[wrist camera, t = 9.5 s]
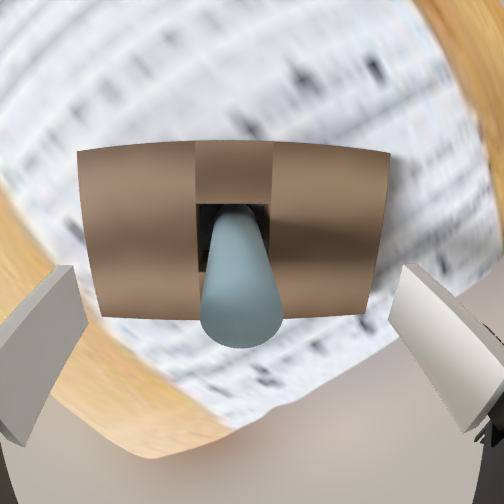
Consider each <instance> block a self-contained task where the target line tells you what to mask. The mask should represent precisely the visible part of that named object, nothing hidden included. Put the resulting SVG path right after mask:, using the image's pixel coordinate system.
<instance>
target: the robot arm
mask: <svg viewBox="0 0 504 504" xmlns="http://www.w3.org/2000/svg"><path fill="white" fill-rule="evenodd" d="M388 321H389V322H390V324H391V325H392V326H393V328H394V329H395V331H396V332H397V333H398V335H399V336H400V338H401V339H402V341H403V342H404V343H405V345H406V346H407V348H408V349H409V351H410V352H411V353H412V355H413V356H414V358H415V359H416V361H417V362H418V364H419V365H420V367H421V368H422V370H423V371H424V373H425V374H426V376H427V377H428V379H429V380H430V382H431V383H432V385H433V387H434V388H435V390H436V391H437V393H438V394H439V396H440V398H441V399H442V401H443V402H444V404H445V405H446V407H447V409H448V410H449V412H450V413H451V415H452V417H453V419H454V420H455V422H456V424H457V425H458V427H459V429H460V431H461V432H462V434H463V433H466V432H468V431H470V430H471V429H474V428H476V427H477V426H478V425H479V424H480V423H481V422H482V420H483V419H484V418H485V417H486V415H488V416H489V418H490V421H489V422H488V423H487V424H486V426H485V427H484V428H483V429H482V430H481V431H480V432H479V434H478V435H477V436H476V437H475V440H474V442H477V441H478V440H479V439H480V438H481V437H482V435H483V434H485V437H484V438H483V439H482V440H481V441H480V443H482V444H484V447H483V454H482V460H481V467H480V472H479V477H478V482H477V487H476V491H475V495H474V499H473V503H472V504H504V344H503V343H501V340H500V339H499V338H497V336H496V337H495V334H494V333H493V332H492V331H491V330H490V329H489V328H488V327H487V326H486V325H484V324H483V323H481V322H480V321H479V320H478V319H477V318H476V317H475V316H474V315H473V314H472V313H471V312H470V311H469V310H468V309H467V308H466V307H465V306H464V305H462V303H461V302H459V301H458V300H457V299H456V298H455V297H454V296H453V295H452V294H451V293H450V292H449V291H448V290H447V289H445V288H444V287H443V286H442V285H441V284H440V283H439V282H438V281H437V280H435V279H434V278H433V277H432V276H431V275H430V274H429V273H427V272H426V271H425V270H424V269H423V268H422V267H420V266H419V265H418V264H403V267H402V271H401V275H400V279H399V283H398V286H397V290H396V294H395V297H394V301H393V304H392V308H391V311H390V314H389V318H388ZM87 325H88V320H87V317H86V313H85V310H84V307H83V303H82V299H81V296H80V292H79V288H78V284H77V280H76V276H75V272H74V268H73V266H68V265H58V266H57V267H56V268H55V269H54V270H53V271H52V272H51V273H50V274H49V275H48V276H47V277H46V278H45V279H44V280H43V281H42V282H41V283H40V284H39V285H38V286H37V287H36V288H35V289H34V290H33V291H32V292H31V293H30V294H29V295H28V296H27V297H26V298H25V299H24V300H23V301H22V302H21V303H20V304H19V305H18V307H17V308H16V309H15V310H14V311H13V312H12V313H11V314H10V315H9V317H8V318H7V319H6V320H5V321H4V322H3V323H2V325H1V326H0V432H1V433H2V434H3V435H4V436H5V437H6V439H7V440H9V441H11V442H13V443H15V444H18V445H20V446H22V447H25V445H26V443H27V441H28V438H29V436H30V434H31V431H32V429H33V427H34V425H35V423H36V420H37V418H38V416H39V414H40V412H41V410H42V408H43V406H44V403H45V401H46V399H47V397H48V395H49V393H50V391H51V389H52V388H53V386H54V384H55V382H56V380H57V378H58V376H59V374H60V372H61V370H62V369H63V367H64V365H65V363H66V361H67V359H68V358H69V356H70V354H71V352H72V351H73V349H74V347H75V345H76V344H77V342H78V340H79V338H80V337H81V335H82V333H83V332H84V330H85V328H86V327H87ZM0 504H18V501H17V499H16V496H15V493H14V491H13V487H12V484H11V481H10V478H9V474H8V471H7V468H6V464H5V460H4V456H3V452H2V448H1V443H0Z"/></svg>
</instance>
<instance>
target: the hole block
mask: <svg viewBox="0 0 504 504" xmlns="http://www.w3.org/2000/svg"><path fill="white" fill-rule="evenodd" d="M77 164H78V179H79V191H80V201H81V210H82V218H83V226H84V233H85V239H86V246H87V251H88V257H89V262H90V268H91V273H92V277H93V282H94V287H95V291H96V295H97V300H98V304H99V308H100V312H101V315H102V317H117V318H137V319H163V320H200V306H201V300H202V293H203V287H204V281H205V274H206V268H207V262H208V256H209V252H203V247H202V214H201V204H264V220H263V243H264V247H265V250H266V253H267V256H268V259H269V263H270V266H271V269H272V273H273V276H274V279H275V282H276V286H277V289H278V292H279V296H280V299H281V302H282V306H283V312H284V313H283V319H292V318H312V317H328V316H342V315H355V314H365V311H366V306H367V302H368V298H369V294H370V289H371V284H372V280H373V275H374V270H375V265H376V260H377V254H378V249H379V243H380V237H381V231H382V224H383V217H384V210H385V203H386V194H387V186H388V176H389V165H390V153H387V152H380V151H373V150H366V149H359V148H350V147H341V146H332V145H321V144H309V143H294V142H275V141H241V140H213V141H178V142H160V143H146V144H134V145H123V146H114V147H105V148H97V149H90V150H83V151H77Z"/></svg>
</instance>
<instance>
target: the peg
mask: <svg viewBox="0 0 504 504" xmlns="http://www.w3.org/2000/svg"><path fill="white" fill-rule="evenodd" d="M283 313H284V312H283V306H282V302H281V299H280V296H279V292H278V289H277V286H276V282H275V279H274V276H273V273H272V269H271V266H270V263H269V259H268V256H267V253H266V250H265V247H264V243H263V240H262V237H261V234H260V230H259V227H258V224H257V221H256V218H255V215H254V213H253V211H252V210H251V209H250V208H249V207H248V206H247V205H245V204H226V205H224V206H223V207H222V208H221V209H220V210H219V211H218V213H217V214H216V217H215V222H214V228H213V233H212V239H211V245H210V250H209V256H208V262H207V268H206V274H205V281H204V287H203V293H202V300H201V306H200V321H201V325H202V327H203V329H204V331H205V332H206V333H207V335H208V336H209V337H210V338H212V339H213V340H214V341H216V342H217V343H219V344H221V345H224V346H227V347H231V348H250V347H254V346H257V345H260V344H262V343H264V342H266V341H267V340H269V339H270V338H271V337H273V336H274V335H275V333H276V332H277V331H278V330H279V328H280V326H281V323H282V320H283Z"/></svg>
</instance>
